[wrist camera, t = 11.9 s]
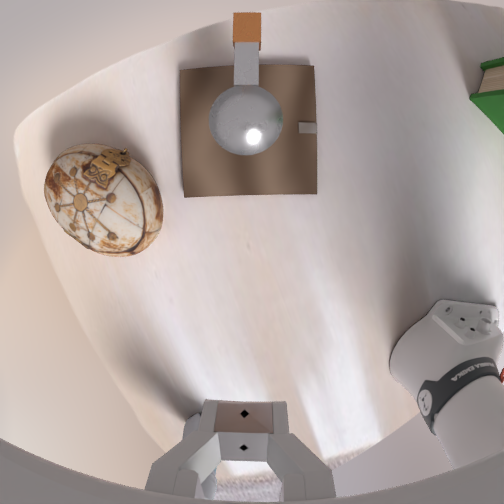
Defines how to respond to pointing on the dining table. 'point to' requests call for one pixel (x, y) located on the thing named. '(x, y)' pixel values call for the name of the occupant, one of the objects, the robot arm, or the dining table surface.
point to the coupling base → (257, 165)
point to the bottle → (211, 481)
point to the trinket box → (104, 199)
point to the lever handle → (246, 97)
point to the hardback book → (492, 92)
